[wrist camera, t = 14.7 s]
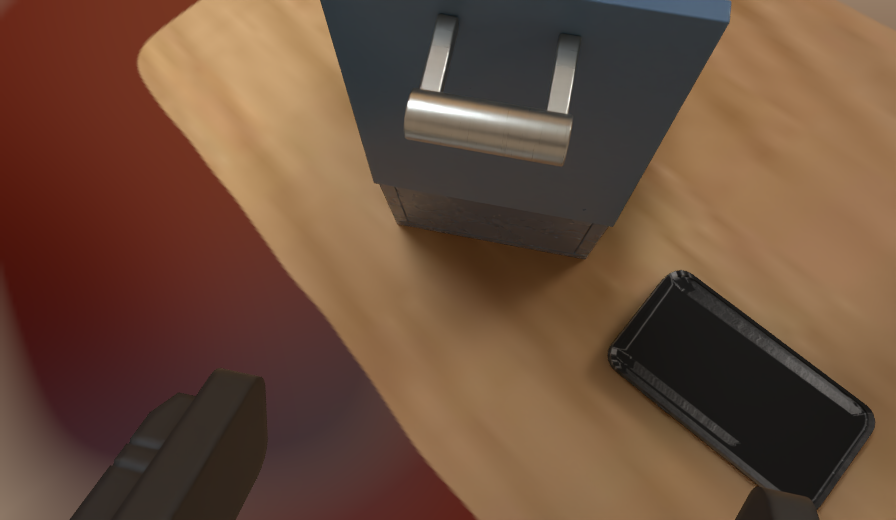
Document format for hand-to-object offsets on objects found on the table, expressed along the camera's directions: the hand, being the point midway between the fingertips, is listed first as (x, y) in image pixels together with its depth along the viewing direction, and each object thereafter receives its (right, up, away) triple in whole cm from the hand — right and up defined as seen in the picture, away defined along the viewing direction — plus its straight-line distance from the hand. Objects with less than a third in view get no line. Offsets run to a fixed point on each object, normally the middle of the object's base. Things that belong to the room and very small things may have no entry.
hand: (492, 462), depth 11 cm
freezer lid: (+2, +10, +17) cm, 20 cm away
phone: (+17, -5, +32) cm, 37 cm away
